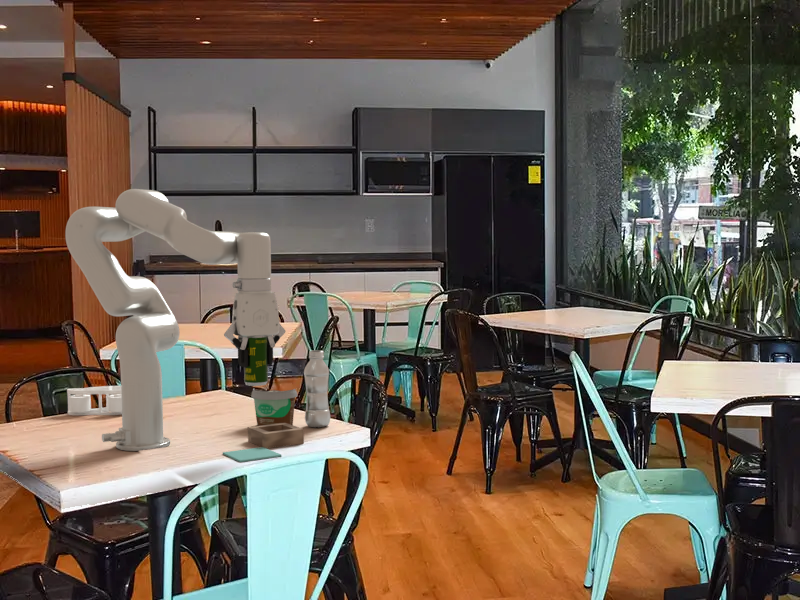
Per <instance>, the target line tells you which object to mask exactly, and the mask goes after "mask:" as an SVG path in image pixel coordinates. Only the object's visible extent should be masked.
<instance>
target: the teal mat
mask: <svg viewBox="0 0 800 600" xmlns="http://www.w3.org/2000/svg"><path fill="white" fill-rule="evenodd" d="M222 455H223V456H225V457H228V458H230V459H232V460H235V461H237V462H238V463H245V462H253V461H260V460H265V459H273V458H279V457H282V454H280V453H279V452H276V451H274V450H271V449H270V448H268V449H266V448H264V447H260V446H258V447H252V448H246V449H237V450H232V451H223V452H222Z"/></svg>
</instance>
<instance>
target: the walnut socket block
mask: <svg viewBox="0 0 800 600" xmlns="http://www.w3.org/2000/svg"><path fill="white" fill-rule="evenodd" d="M304 432H305V429H304V428H302V427H299V426H296V425H294V424H293V425H290V424H288V423H279V424H270V425H262V426H257V425H256V426H249V427H247V441H248V442H249V443H251V444H253V445H255V446H258V447H264V448H266V449H274V448H281V447H289V446H296V445H297V446H298V445H303V444H304V443H305V435H304V434H305V433H304Z"/></svg>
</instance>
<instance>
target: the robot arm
mask: <svg viewBox="0 0 800 600" xmlns="http://www.w3.org/2000/svg"><path fill="white" fill-rule="evenodd" d="M114 205H115V207H112V206H111V207H107V206H86V207H82V208H78V209H77V210H75V211H74V212H73V213H71V215H70V217H69V218H68V220H67V222H66V226H65V243H66V246H67V249H68V251H69V253H70V255H71V257H72V258H73V260H74V262H75V263H76V265H77V266H78V267H79V269H80V270H81V272H82V273H83V275H84V276H85V278H86V280H87V282H88V284H89V286H90V288H91V289H92V291H93V293H94V296H96V298H97V300H98V301H99V303H100V305H101V307H102V308H103V310H104V311H105V312H106V314H108V315H110V316H112V317H126V316H127V318H125V319H124V320H123V321H121V322H120V324H119V325H118V326H117V329H116V332H115V344H116V349H117V353H118V358H119V359H118V360H119V366H120V367H119V368H120V384H121V385H120V386H121V395H122V415H121V422H122V423H121V424H122V425H121V427H119V428H118V430H116V431H114V432H113V433H112V432H111V433H110V432H108V433H102V434H101V441H102V442H103V443H105V442H106V443H107V442H111V443H115V447H116V449H118V450H121V451H127V452H139V451H146V450H155V449H163V448H166V447H169V446H170V444H171V439H170V438H168V437H165V436H164V412H163V411H164V410H163V409H164V406H163V402H164V401H163V373H162V366H161V363H160V361H159V357H158V354H157V353H158V352H160V353H161V352H164V351H168V350H170V349H172V348H173V347H174V346H176V344H177V343H178V342H179V339H180V326H179V323H178V321H177V319H176V317H175V315H174V313H173V311H172V310H171V308H170V306H169V305H168V304H167V302H166V300H165V298H164V297H163V294H162V293H161V291H160V289H159V288H158V286H157V285H156V284H154V282H152V280H150V279H149V278H146V277H144V276H140V275H139V276H138V275H136V276H135V275H132V276H131V275H130V276H129V275H128V274H127V273H126V272H125V271H124V269H123V268H122V266H121V264H120V262H119V260H118V259H117V256H115V255H114V254H113V253H112V252H111V251H110V250H109V249H108V248H107V247H106V246H105V244H104V243H107V242H111V243H113V242H114V243H115V242H116V243H117V242H123V241H126V240H129V239H132V238H134V237H136V236H138V235H140V234H142V233H145V232H146V233H148V234H151V235H152V236H155V237H157V238H159V239H162V240H163V241H165V242H166V243H167V244H168V245H169V246H170V247H171V248H172V249H173V250H175V251H176V252H178V253H180V254H181V255H184V256H186V257H188V258H190V259H193V260H194V261H196V262H199V263H202V264H204V265H212V266H216V265H232V264H233V265H234V264H237V279H236V281H234V282H232V288H233V289H236V290H237V292H235V293H234V298H233V305H232V306H233V307H232V317H231V323H230V326H229V327H228V328H227V330H226V331H225V332H224V333H223V336H224V337H225V338H226V339H227V340H228V341H230V343H231V344H232V345H233V346H235V348H236V349H237V363H238V364H239V365H238V366H240V367H242V368H244V367H247V366H248V350H246V344H247V341H248V337H257V336H267V351H268V366H272V365H273V362H274V361H273V360H274V348H275V347H276V344H277V343H278V342H279V341H280V338H281V337H283V336H284V335H285V334H286V329H285V328H284V326H283V325H282V324H281V323H280V318H279V315H280V314H279V308H278V300H277V297H276V292H274V291H272V258H271V257H272V252H271V251H272V250H271V248H272V247H271V245H272V244H271V236H270V235H269V234H268V233H266V232H258V231H257V232H255V231H254V232H253V231H250V232H248V231H247V232H235V231H222V230H221V231H219V230H218V231H215V230H214V231H212V230H210V229H206V228H204V227H202V226H199V225H198V224H195V223H193V222H191V221H189V220H188V216H187V213H186V211H185V210H184V209H183V208H182V207H179V206H177V205H175V204H173V203H171V202H170V201H169V199H168V198H167V197H166V196H165V194H163V193H162V192H160V191H158V190H153V189H142V188H140V189H139V188H131V189H127V190H125V191H123V192H122V193H120V194H119V195H118V197H117V199H116V200H115V204H114ZM103 242H104V243H103ZM128 316H129V317H128Z"/></svg>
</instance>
